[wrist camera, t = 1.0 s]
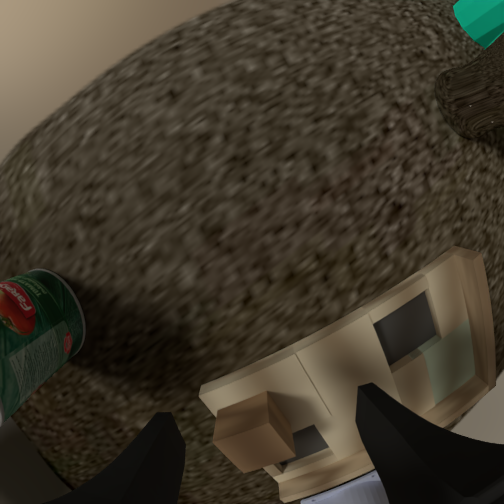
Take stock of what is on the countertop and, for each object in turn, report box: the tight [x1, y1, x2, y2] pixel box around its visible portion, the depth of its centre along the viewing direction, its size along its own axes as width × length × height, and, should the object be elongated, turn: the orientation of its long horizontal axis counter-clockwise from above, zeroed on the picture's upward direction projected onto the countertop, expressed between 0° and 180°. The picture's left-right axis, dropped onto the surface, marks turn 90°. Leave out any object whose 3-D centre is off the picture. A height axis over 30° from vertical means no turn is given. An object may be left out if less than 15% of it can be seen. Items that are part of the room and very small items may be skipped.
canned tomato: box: [0, 269, 86, 427], centre depth 14 cm, size 8×8×11 cm
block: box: [213, 391, 296, 473], centre depth 18 cm, size 4×4×4 cm
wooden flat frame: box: [199, 246, 496, 503], centre depth 19 cm, size 22×14×3 cm, turn 119°
